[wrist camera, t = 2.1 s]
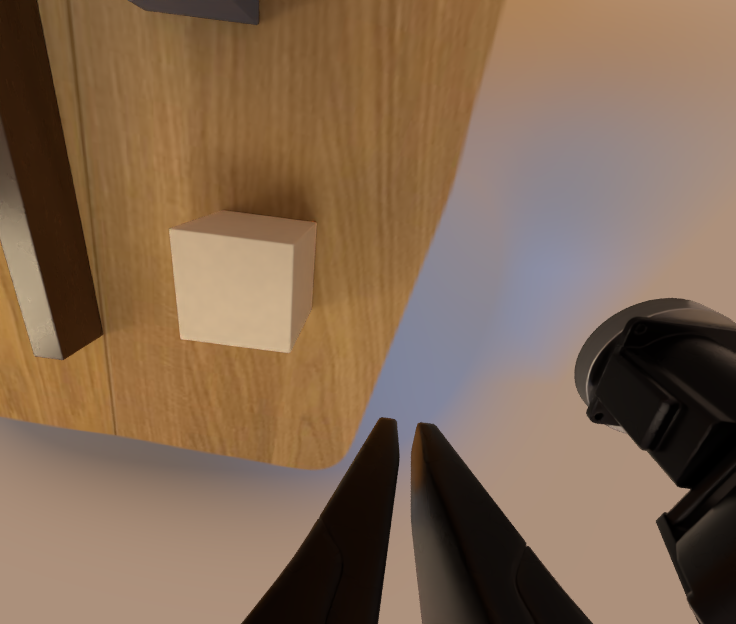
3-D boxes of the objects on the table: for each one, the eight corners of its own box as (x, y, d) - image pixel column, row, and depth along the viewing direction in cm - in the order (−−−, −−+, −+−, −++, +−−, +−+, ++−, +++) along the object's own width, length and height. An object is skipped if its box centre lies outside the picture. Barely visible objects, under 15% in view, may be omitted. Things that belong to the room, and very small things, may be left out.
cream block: (317, 222, 19) (294, 244, 14) (311, 309, 21) (290, 353, 16) (221, 209, 19) (168, 227, 14) (225, 298, 21) (179, 339, 16)
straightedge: (-38, -372, 12) (-167, -529, 9) (103, 335, 22) (63, 360, 20) (-87, -377, 12) (-230, -538, 9) (77, 331, 22) (33, 356, 20)
